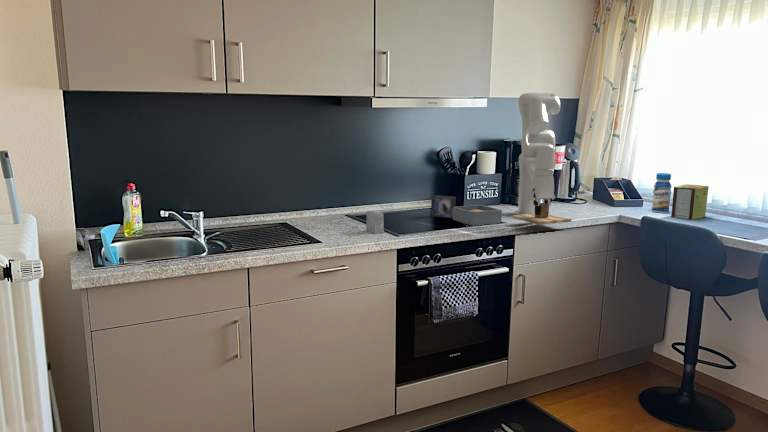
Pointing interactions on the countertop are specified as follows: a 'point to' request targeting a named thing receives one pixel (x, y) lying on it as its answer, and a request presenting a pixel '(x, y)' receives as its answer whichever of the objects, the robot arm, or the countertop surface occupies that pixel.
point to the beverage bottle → (662, 193)
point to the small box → (442, 206)
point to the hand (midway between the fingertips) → (541, 213)
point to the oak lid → (542, 217)
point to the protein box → (689, 201)
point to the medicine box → (375, 222)
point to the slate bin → (477, 215)
